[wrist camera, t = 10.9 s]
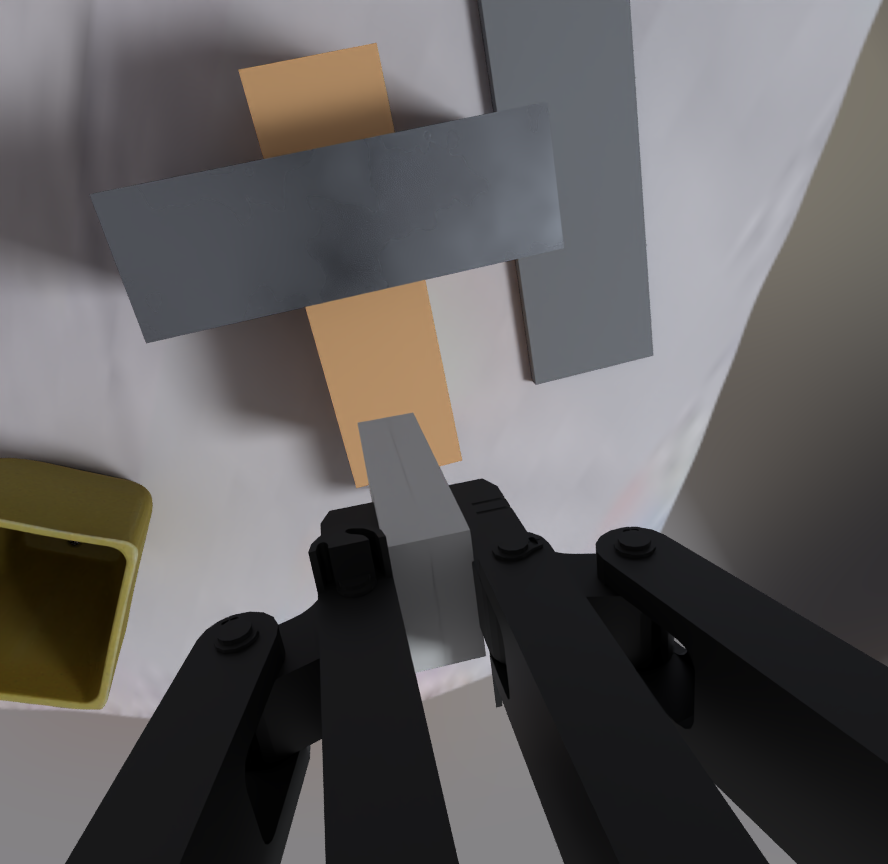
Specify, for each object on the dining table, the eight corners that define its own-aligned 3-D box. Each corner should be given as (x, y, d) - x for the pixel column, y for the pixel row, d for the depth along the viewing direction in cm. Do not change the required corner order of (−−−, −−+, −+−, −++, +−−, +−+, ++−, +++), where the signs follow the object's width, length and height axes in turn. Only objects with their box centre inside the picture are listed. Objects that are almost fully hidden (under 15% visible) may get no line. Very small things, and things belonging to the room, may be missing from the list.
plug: (254, 94, 29) (238, 69, 23) (362, 72, 30) (376, 42, 23) (366, 495, 37) (376, 560, 31) (449, 473, 38) (477, 533, 31)
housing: (155, 190, 30) (89, 194, 21) (480, 124, 31) (547, 101, 22) (192, 297, 32) (146, 343, 23) (496, 230, 33) (563, 248, 24)
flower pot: (-25, 567, 34) (-132, 688, 26) (-5, 417, 32) (-116, 499, 24) (150, 594, 37) (103, 713, 29) (181, 457, 34) (140, 545, 26)
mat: (464, -93, 28) (467, -98, 27) (615, -118, 29) (621, -124, 28) (532, 381, 37) (536, 384, 36) (648, 352, 37) (653, 355, 37)
